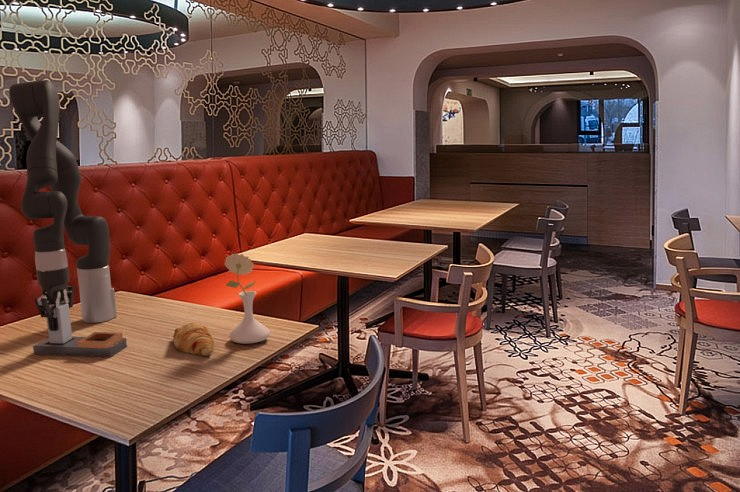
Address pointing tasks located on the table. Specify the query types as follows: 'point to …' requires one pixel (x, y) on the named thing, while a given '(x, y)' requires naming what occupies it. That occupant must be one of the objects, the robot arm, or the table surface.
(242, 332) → the flower in vase
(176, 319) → the table surface
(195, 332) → the croissant
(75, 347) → the socket
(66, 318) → the peg
